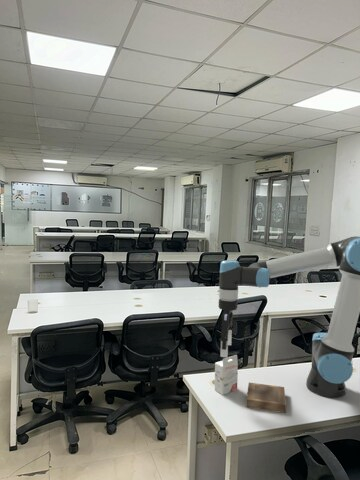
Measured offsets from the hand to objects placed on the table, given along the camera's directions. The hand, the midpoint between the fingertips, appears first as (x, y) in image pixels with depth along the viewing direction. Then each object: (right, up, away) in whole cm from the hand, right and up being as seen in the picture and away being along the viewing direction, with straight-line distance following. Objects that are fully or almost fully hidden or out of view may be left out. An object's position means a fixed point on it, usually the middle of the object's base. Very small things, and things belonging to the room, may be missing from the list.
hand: (226, 350), depth 142 cm
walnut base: (+15, -17, -7) cm, 23 cm away
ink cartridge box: (0, -17, +1) cm, 17 cm away
